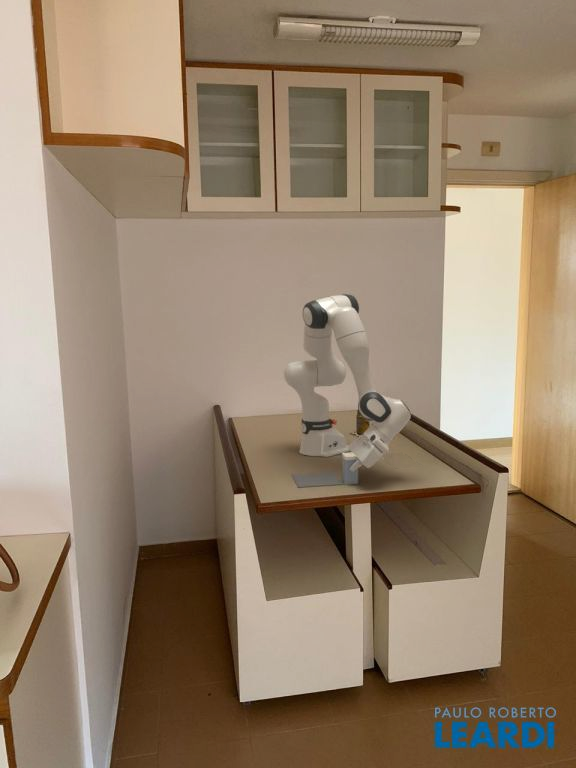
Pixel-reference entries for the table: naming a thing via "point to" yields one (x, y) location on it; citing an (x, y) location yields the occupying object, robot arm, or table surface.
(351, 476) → the box
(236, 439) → the table surface
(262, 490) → the table surface
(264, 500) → the table surface
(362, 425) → the condiment
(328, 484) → the mat
